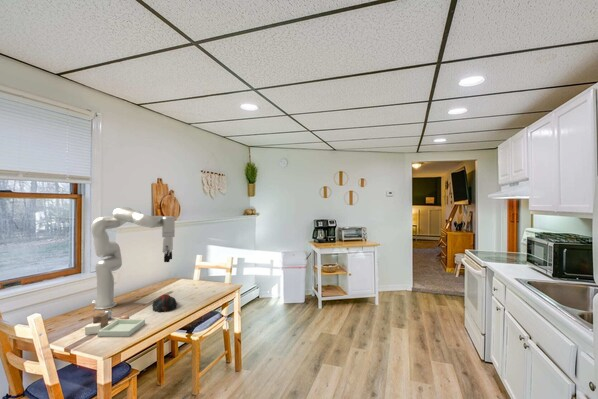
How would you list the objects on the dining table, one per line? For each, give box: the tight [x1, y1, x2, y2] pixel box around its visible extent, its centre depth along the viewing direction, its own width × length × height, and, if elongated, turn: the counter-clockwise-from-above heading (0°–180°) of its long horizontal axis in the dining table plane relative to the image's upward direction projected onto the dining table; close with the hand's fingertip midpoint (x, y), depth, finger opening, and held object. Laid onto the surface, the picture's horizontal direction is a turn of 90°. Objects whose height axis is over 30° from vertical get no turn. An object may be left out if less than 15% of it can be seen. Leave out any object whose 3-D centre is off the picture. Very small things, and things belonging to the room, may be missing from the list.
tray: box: [97, 318, 146, 337], centre depth 160 cm, size 16×16×3 cm
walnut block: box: [92, 312, 109, 328], centre depth 167 cm, size 5×5×6 cm
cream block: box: [84, 323, 102, 336], centre depth 157 cm, size 6×4×4 cm, turn 109°
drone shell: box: [151, 294, 178, 313], centre depth 197 cm, size 21×20×8 cm
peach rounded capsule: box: [119, 314, 130, 319], centre depth 172 cm, size 4×4×3 cm
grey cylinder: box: [103, 309, 113, 321], centre depth 176 cm, size 4×4×5 cm
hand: (168, 260), depth 196 cm, fingers open, 9 cm apart
